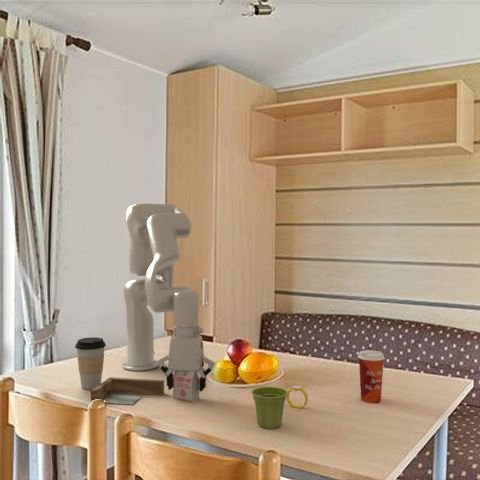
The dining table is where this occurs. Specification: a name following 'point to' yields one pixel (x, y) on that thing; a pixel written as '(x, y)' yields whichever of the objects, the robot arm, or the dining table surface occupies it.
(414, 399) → the dining table surface
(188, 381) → the white carton
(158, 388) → the corner walls
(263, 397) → the plant pot
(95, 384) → the coffee cup
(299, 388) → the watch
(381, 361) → the paper cup
